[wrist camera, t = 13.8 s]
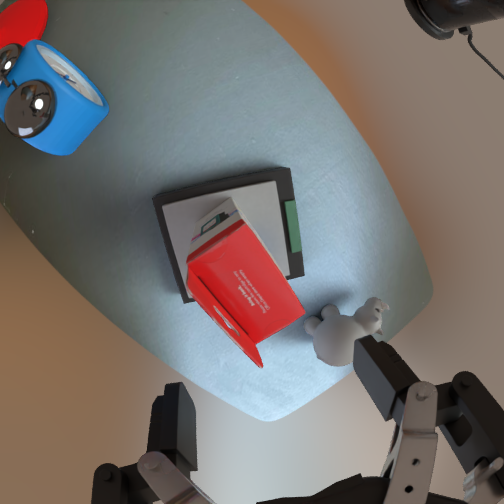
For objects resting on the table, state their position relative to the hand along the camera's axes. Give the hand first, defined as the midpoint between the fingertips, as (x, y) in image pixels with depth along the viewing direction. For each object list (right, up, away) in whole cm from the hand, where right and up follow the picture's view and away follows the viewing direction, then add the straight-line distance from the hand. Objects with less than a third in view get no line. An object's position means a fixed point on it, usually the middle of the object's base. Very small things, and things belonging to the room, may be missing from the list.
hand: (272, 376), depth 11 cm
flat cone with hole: (-35, +35, +6) cm, 50 cm away
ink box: (-3, +7, +18) cm, 20 cm away
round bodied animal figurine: (+12, -3, +28) cm, 30 cm away
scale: (-3, +8, +21) cm, 23 cm away
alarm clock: (-22, +23, +13) cm, 34 cm away
